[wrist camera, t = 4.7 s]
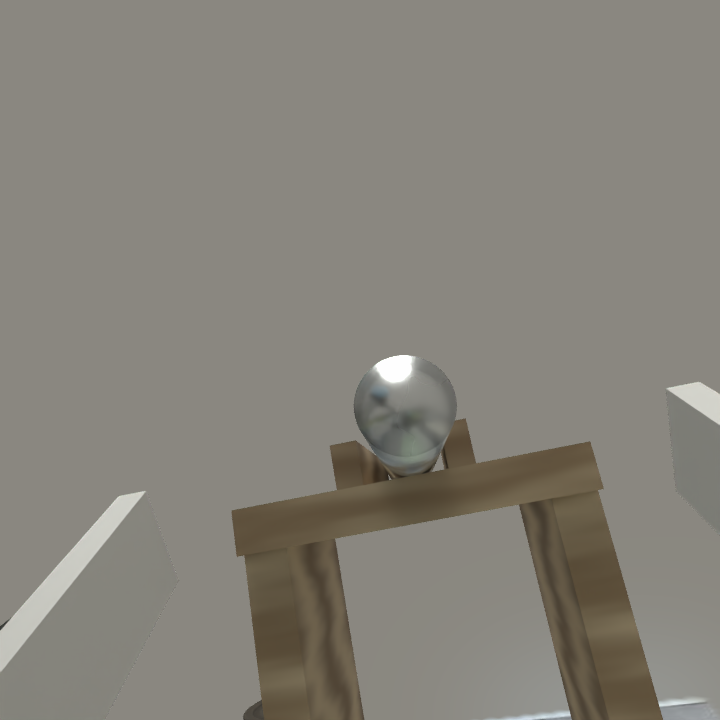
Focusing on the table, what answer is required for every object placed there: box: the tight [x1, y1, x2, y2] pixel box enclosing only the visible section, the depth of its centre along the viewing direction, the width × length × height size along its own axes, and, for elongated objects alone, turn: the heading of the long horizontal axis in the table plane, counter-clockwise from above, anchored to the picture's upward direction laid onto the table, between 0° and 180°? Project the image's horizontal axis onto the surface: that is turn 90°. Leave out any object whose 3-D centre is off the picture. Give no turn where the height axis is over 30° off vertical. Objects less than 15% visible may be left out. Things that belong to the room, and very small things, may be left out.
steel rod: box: [354, 356, 457, 480], centre depth 29 cm, size 24×3×3 cm, turn 175°
